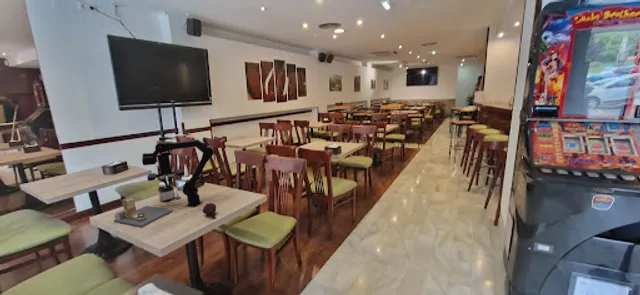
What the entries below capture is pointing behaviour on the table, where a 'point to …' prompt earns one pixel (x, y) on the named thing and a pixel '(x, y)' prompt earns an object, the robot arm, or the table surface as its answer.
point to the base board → (150, 213)
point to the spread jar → (167, 192)
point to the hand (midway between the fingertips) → (168, 188)
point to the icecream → (210, 209)
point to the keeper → (120, 214)
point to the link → (131, 210)
